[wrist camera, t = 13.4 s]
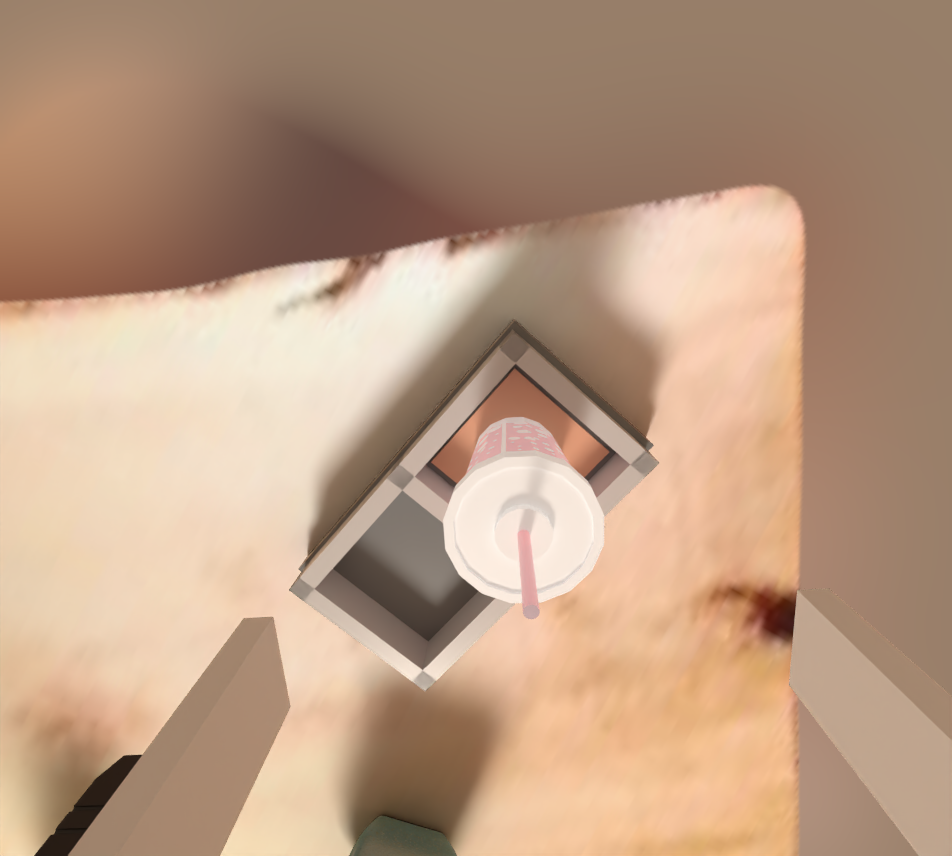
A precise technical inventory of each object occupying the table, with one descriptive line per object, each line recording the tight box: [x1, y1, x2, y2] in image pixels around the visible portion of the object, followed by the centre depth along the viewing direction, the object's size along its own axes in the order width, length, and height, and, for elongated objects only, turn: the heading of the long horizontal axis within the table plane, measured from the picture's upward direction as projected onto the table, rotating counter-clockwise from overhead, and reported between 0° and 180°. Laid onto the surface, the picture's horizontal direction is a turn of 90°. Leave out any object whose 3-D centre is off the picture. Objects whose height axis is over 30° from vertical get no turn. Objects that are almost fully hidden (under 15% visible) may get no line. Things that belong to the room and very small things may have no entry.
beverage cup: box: [443, 417, 604, 619], centre depth 22 cm, size 6×6×14 cm
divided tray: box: [289, 319, 659, 691], centre depth 29 cm, size 10×19×4 cm, turn 139°
